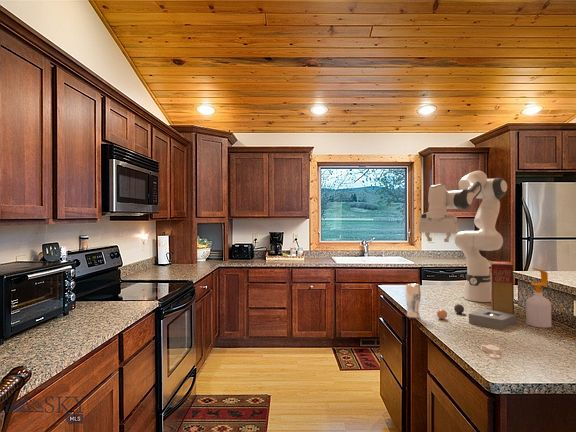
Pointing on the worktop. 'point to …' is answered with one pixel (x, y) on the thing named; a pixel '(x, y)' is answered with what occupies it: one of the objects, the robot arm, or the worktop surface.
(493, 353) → the brush
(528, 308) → the soap bottle
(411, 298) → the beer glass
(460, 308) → the black rubber ball
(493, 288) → the food packaging
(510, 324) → the housing
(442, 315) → the terracotta ball
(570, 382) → the worktop surface
